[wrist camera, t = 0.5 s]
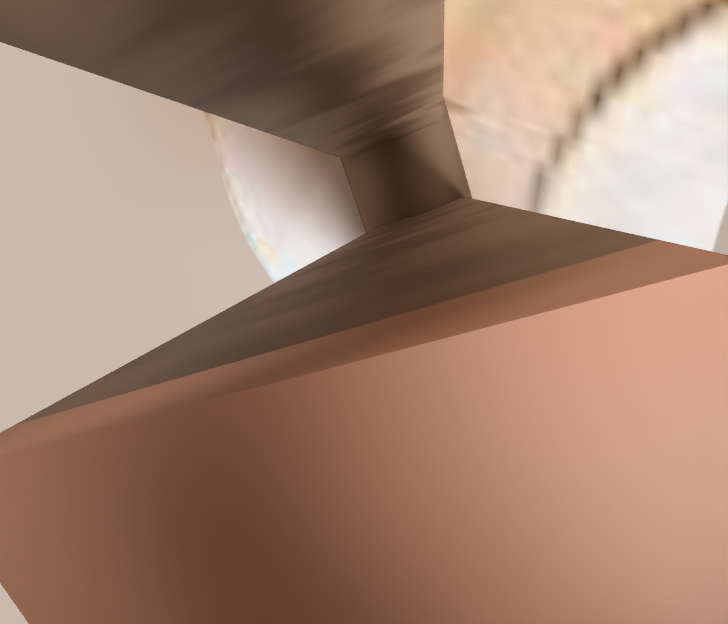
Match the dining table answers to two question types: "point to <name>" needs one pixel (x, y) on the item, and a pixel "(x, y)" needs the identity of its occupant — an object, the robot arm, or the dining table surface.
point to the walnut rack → (378, 375)
